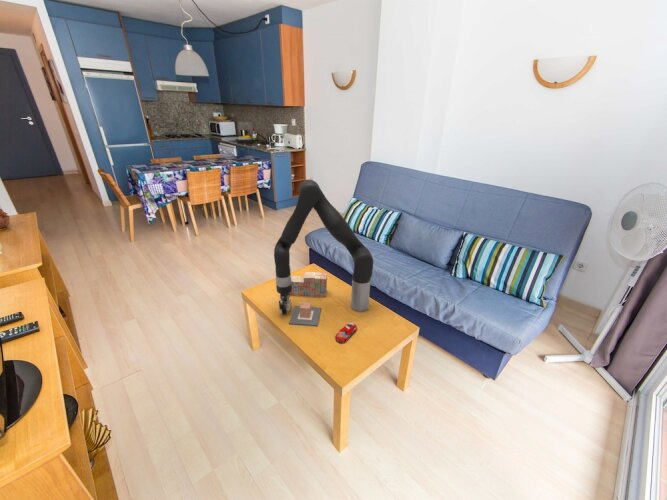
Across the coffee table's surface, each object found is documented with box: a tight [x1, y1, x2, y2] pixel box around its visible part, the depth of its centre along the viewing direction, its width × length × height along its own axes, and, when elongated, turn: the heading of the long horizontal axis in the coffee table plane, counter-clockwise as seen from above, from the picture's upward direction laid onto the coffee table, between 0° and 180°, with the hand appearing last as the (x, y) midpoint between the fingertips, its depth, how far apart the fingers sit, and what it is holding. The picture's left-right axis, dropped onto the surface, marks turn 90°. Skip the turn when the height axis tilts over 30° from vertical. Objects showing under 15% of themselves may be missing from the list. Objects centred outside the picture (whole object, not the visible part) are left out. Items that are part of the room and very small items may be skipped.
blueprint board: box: [288, 305, 322, 327], centre depth 151 cm, size 14×14×1 cm
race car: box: [334, 321, 358, 344], centre depth 139 cm, size 13×5×4 cm, turn 142°
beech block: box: [278, 298, 293, 315], centre depth 153 cm, size 5×5×6 cm
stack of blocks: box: [290, 271, 328, 298], centre depth 166 cm, size 21×6×12 cm, turn 86°
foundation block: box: [299, 301, 312, 318], centre depth 149 cm, size 5×5×6 cm
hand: (285, 310), depth 154 cm, fingers closed on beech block, 5 cm apart
